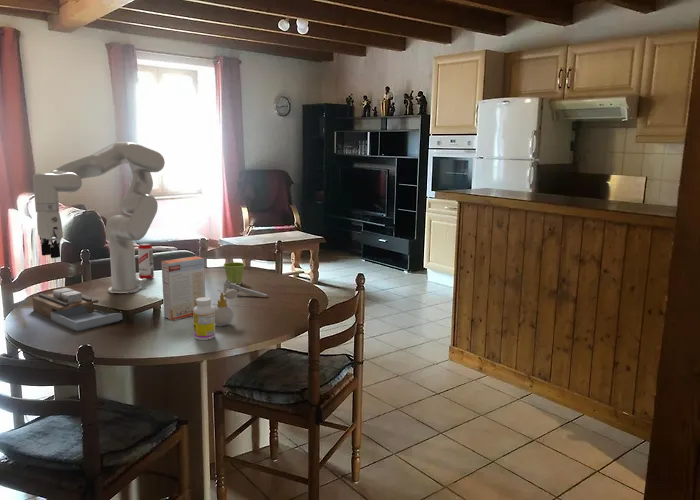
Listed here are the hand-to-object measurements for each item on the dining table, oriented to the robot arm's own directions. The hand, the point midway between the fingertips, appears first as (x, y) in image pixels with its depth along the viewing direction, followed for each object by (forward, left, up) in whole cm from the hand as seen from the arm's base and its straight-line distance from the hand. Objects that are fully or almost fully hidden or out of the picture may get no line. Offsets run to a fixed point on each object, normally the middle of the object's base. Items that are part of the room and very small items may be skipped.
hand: (51, 255), depth 204 cm
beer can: (-48, -16, -20) cm, 54 cm away
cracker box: (-26, +43, -20) cm, 54 cm away
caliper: (-59, +39, -20) cm, 74 cm away
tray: (0, +23, -20) cm, 31 cm away
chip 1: (0, +7, -15) cm, 16 cm away
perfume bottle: (-29, +61, -20) cm, 71 cm away
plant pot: (-69, +20, -20) cm, 75 cm away
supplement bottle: (-16, +67, -20) cm, 72 cm away
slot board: (0, +8, -20) cm, 21 cm away
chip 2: (0, +13, -15) cm, 20 cm away
